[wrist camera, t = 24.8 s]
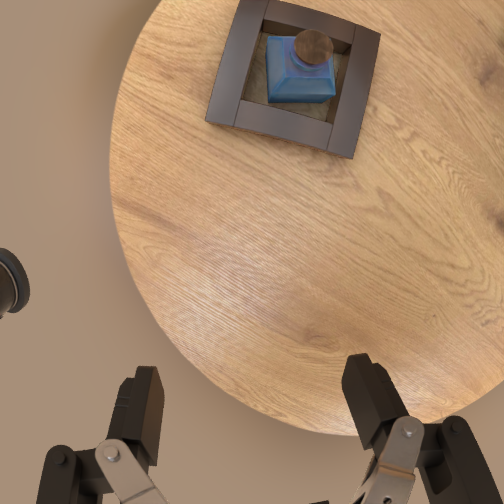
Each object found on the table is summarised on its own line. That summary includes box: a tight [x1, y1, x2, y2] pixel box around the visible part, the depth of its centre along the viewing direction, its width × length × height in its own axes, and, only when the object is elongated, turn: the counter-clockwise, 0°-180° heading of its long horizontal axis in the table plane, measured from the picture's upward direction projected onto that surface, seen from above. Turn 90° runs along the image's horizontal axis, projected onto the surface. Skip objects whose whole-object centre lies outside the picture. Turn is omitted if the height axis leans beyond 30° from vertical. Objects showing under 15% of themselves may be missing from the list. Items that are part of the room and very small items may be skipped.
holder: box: [205, 0, 381, 159], centre depth 29 cm, size 16×16×4 cm
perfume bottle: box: [265, 29, 336, 103], centre depth 25 cm, size 6×6×12 cm
